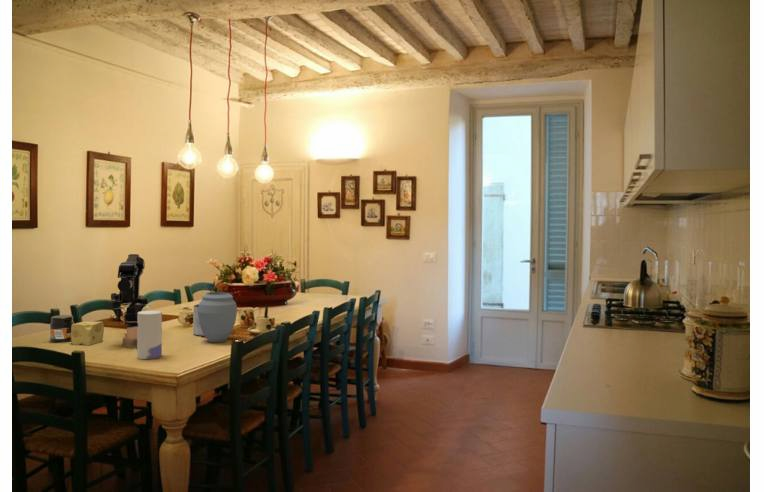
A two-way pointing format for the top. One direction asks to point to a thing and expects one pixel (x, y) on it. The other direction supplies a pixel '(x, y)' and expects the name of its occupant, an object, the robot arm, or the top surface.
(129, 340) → the mauve short cylinder
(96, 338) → the cheese
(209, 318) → the vase
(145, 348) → the container
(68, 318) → the supplement container
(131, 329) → the pink cube
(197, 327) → the planter
